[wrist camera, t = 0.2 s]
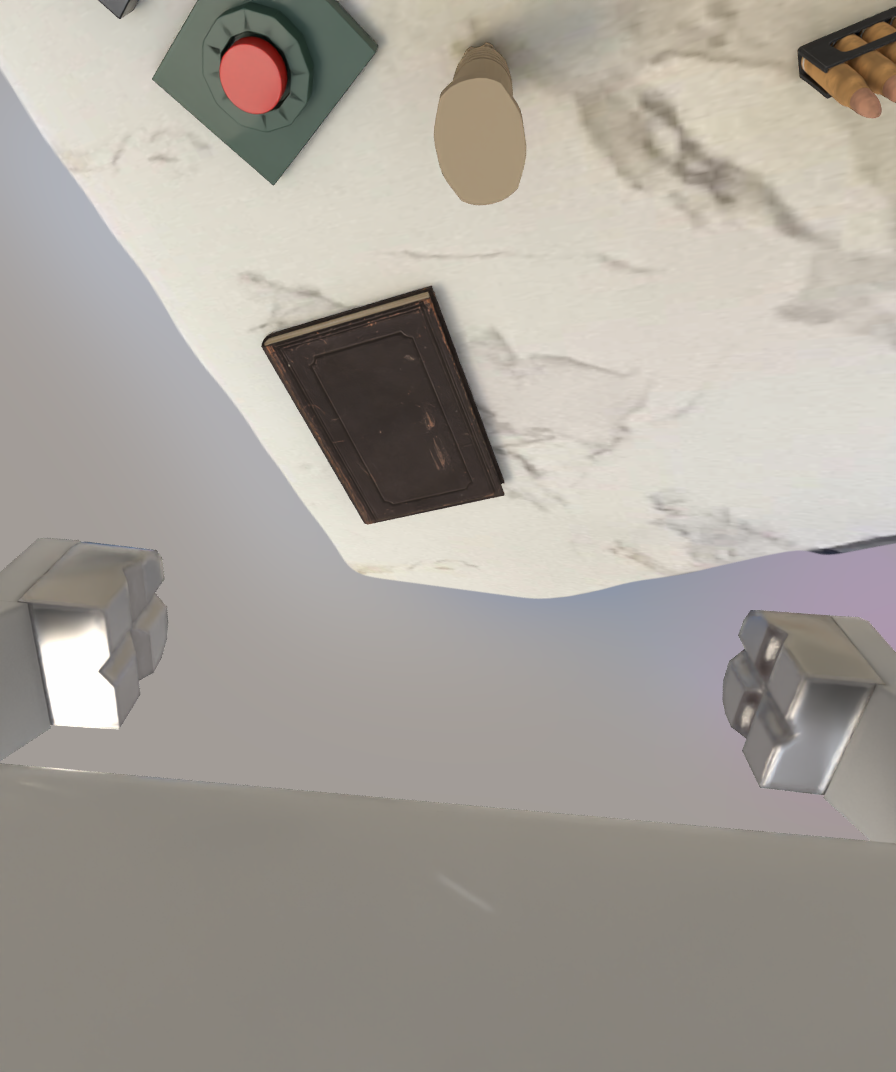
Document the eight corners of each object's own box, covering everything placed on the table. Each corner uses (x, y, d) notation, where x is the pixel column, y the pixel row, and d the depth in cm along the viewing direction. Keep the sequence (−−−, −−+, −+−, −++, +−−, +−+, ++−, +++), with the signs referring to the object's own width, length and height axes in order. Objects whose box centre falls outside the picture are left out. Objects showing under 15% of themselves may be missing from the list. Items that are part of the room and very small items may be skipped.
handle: (458, 127, 53) (450, 213, 43) (437, 23, 49) (422, 91, 38) (524, 111, 52) (533, 194, 42) (509, 3, 48) (514, 67, 37)
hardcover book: (431, 285, 62) (429, 299, 60) (504, 480, 77) (504, 495, 76) (264, 335, 66) (258, 349, 64) (365, 511, 82) (362, 526, 80)
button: (247, 20, 46) (240, 27, 45) (299, 71, 48) (294, 79, 47) (214, 72, 48) (207, 80, 47) (265, 119, 50) (259, 128, 49)
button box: (253, -89, 45) (239, -81, 42) (378, 45, 50) (372, 59, 47) (159, 72, 51) (142, 87, 49) (278, 177, 56) (268, 195, 54)
